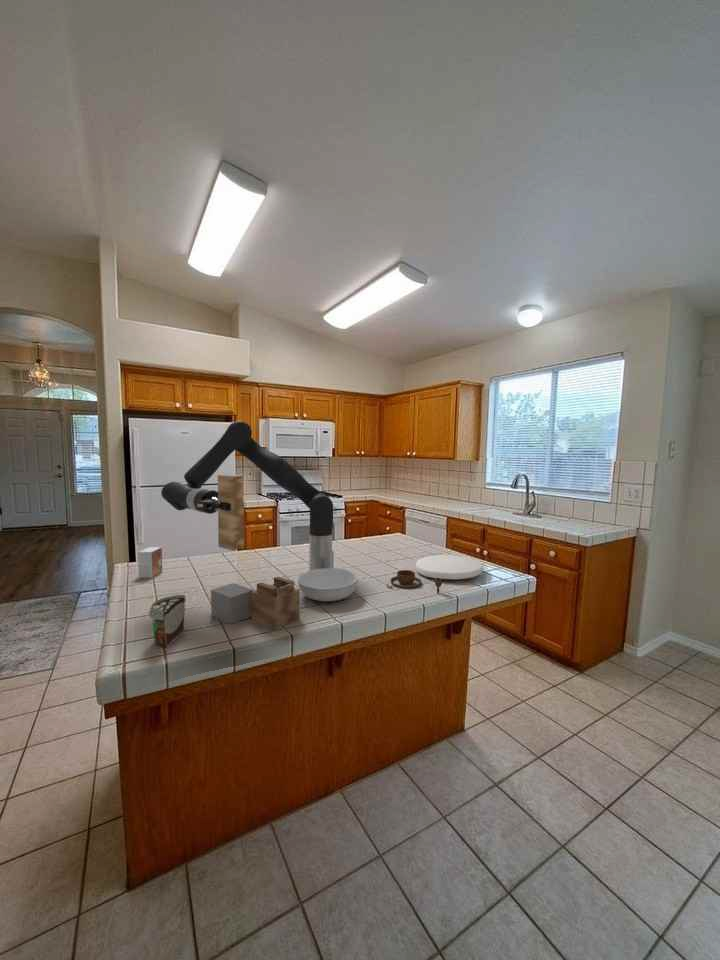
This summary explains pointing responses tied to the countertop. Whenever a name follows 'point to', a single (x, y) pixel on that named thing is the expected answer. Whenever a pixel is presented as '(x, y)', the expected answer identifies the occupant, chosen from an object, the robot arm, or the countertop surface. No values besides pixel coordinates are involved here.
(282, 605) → the walnut rack
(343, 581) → the serving bowl
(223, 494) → the oak board
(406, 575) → the place setting
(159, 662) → the countertop surface
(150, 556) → the small box
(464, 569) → the plate
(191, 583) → the countertop surface
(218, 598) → the slate block
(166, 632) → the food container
